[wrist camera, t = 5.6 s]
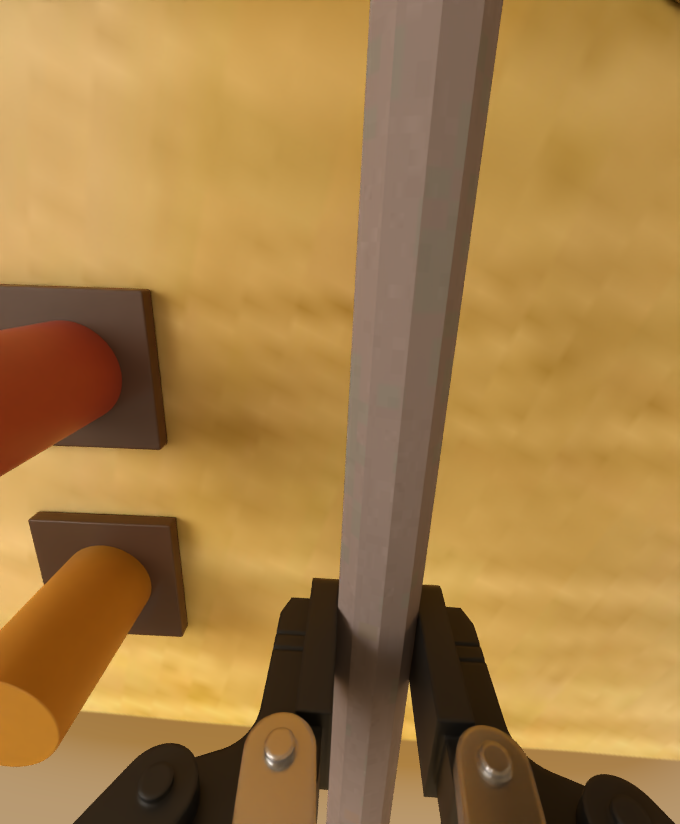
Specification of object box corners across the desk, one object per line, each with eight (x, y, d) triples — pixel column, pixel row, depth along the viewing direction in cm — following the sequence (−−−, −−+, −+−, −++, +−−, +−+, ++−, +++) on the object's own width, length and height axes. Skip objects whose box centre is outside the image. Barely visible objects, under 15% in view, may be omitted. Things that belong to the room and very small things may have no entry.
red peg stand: (-15, 283, 18) (-287, 296, 10) (150, 289, 18) (-2, 306, 10) (21, 437, 20) (-180, 541, 13) (167, 443, 20) (54, 551, 12)
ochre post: (38, 510, 21) (-134, 644, 14) (176, 517, 21) (77, 655, 14) (64, 619, 24) (-73, 785, 16) (188, 625, 24) (109, 795, 16)
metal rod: (323, 878, 16) (319, 958, 14) (372, -48, 7) (379, -161, 5) (372, 881, 16) (375, 962, 14) (488, -44, 7) (538, -156, 5)
